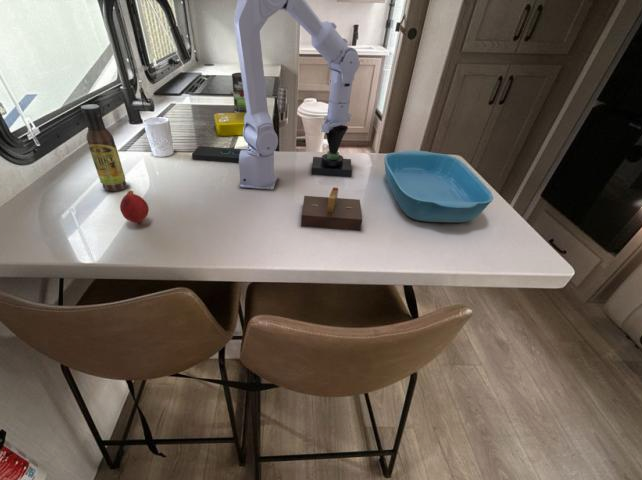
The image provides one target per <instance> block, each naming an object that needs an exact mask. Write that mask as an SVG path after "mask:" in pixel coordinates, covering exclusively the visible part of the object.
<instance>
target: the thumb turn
mask: <svg viewBox="0 0 642 480" xmlns="http://www.w3.org/2000/svg"><path fill="white" fill-rule="evenodd" d="M338 196H339V188H338V187H335V186H334V187H333V188H332V189H331V192H330V194H329V195H328V197H329V198H328V207H327V212H333V210H334V208H335V205H336V203H337V198H339V197H338Z"/></svg>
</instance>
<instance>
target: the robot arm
mask: <svg viewBox="0 0 642 480" xmlns="http://www.w3.org/2000/svg"><path fill="white" fill-rule="evenodd" d="M280 10H281V11H284V12H287V13H288V14H289V15H290V16H291V17H292V18H293V19H294V21H296V22H297V23H298V24H299V25H300V26H301V27H302V28H303V29H304V30H305V31H306V32H307V33H308V34H309V35H310V36H311V38H310V39H311V40H310V41H311V45H312V47H313V48H314V49H315V50H316V52H318V53H319V55H320V56H321V57H322V58H323V59H324V60H325V61H326V62H327V66H328V69H329V70H331V74H330V84H329V85H330V86H329V95H328V104H327V105H328V106H327V115H325V116H323V117H322V118H323V119H322V120H323V121H324V122H323V123H322V124H321V129H320V130H321V133H325V135H326V137H327V138H326V139H327V145H328V151H329V152H330V153H334V154H336V153H337V152H339V149H340V146H341V143H342V140H343V138H344V136H345V134H346V132H347V131H348V129H349V127H348V125H347V124H348V123H349V122H351V117H352V113H349V109H350V103H351V102H350V101H351V94H352V87H353V82H354V80H355V75H356V73H357V71H358V70H359V68H360V64H361V61H360V58H359V57H360V56H359V53H358V50H356V49H355V48H353V47H350V46H349V44H348V42H349V41H348V40H347V39H346V38H343V37H342V36H341V34H340V33H339V32H338V31H337V30H336V29H337V24H335V23H334V22H331V21H328V20H326V21H321V19H320V18H319V17H318V15H317V14H316V12H315V11H314V10H313V9H312V7H311V6H310V4H309V3H308V1H306V0H237V3H236V8H235V12H234V15H233V29H234V37H235V42H236V50H237V57H238V62H239V68H240V73H241V76H242V83H243V90H244V97H245V103H246V110H247V113H246V115H245V116H244V123H245V124H244V129H243V135H242V137H243V139H244V141H245V142H246V143H247V147H246V149H247V150H241V151H240V155H239V163H238V170H239V183H240V185H239V188H243V189H257V190H274V189H275V186H276V184H277V183H276V182H277V179H278V177H277V176H275V151H276V150H277V148H278V144H279V137H278V134H277V133H276V130H275V129H274V122H273V120H272V118H271V115H270V112H269V110H268V109H269V108H268V99H267V90H266V89H267V88H266V80H265V71H264V62H263V61H264V60H263V53H262V43H261V33H260V32H261V30H262V29H263V27H264V25H265V24H266V23H267V21H268V20H269V18H271V17H272V16H273V15H275V14H276V13H278V11H280Z"/></svg>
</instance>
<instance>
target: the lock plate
mask: <svg viewBox="0 0 642 480" xmlns="http://www.w3.org/2000/svg"><path fill="white" fill-rule="evenodd" d="M328 198H329V196H315V195H314V196H313V195H304V196H303V203H302V208H301V209H302V210H301V219H300V220H301V221H300V227H307V228H318V229H319V228H320V229H334V230H345V231H358V232H360V231H361V227H362V223H363V214H362V205H361V199H357V198H343V197H342V198H341V197H337V203H336V205H335V208H334V210H333V212H327V207H328Z"/></svg>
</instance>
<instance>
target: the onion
mask: <svg viewBox="0 0 642 480" xmlns="http://www.w3.org/2000/svg"><path fill="white" fill-rule="evenodd" d="M119 210H120V212H121V215H122V216H123V218H124V219H126V220H127V221H130V223H131V222H132V223H135V224H142V223H143V221H144V220H145V219H146V218H147V217H148V214H149V211H150V209H149V205H148V203H147V202H146V200H145V199H144V198H143V197H142V196H140V195H138V194H136V193H134V191H133V190H132V189H128V190H127V192H126V194H125V195H124V196H123V197H122V199H121V201H120V203H119Z"/></svg>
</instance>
